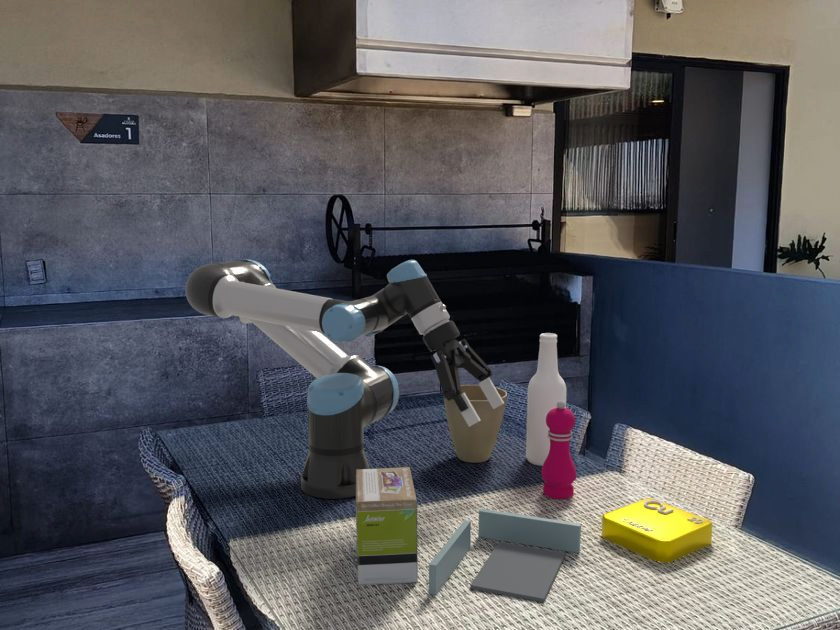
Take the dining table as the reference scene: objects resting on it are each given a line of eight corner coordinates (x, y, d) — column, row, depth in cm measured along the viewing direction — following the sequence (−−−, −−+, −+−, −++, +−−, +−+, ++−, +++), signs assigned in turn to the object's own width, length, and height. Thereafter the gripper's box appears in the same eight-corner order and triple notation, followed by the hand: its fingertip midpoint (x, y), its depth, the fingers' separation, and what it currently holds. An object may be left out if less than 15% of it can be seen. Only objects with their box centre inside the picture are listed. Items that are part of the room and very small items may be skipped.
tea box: (356, 545, 146) (355, 466, 144) (412, 543, 147) (412, 465, 145) (356, 586, 132) (355, 499, 129) (419, 584, 132) (419, 497, 130)
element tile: (596, 537, 151) (597, 512, 150) (647, 517, 160) (648, 494, 159) (665, 567, 139) (666, 541, 138) (715, 544, 148) (717, 519, 147)
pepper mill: (575, 501, 166) (578, 406, 163) (539, 498, 168) (542, 404, 165) (576, 488, 173) (579, 397, 170) (541, 486, 175) (544, 395, 172)
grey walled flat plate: (428, 593, 129) (428, 564, 128) (474, 533, 151) (474, 507, 151) (551, 617, 122) (552, 586, 121) (580, 550, 144) (581, 523, 144)
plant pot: (487, 473, 182) (488, 404, 180) (430, 461, 190) (431, 394, 188) (516, 454, 195) (518, 389, 192) (462, 443, 203) (462, 381, 200)
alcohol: (566, 456, 193) (570, 332, 188) (560, 469, 185) (564, 339, 180) (530, 452, 196) (533, 329, 191) (522, 464, 188) (525, 336, 183)
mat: (470, 588, 131) (470, 585, 131) (498, 544, 147) (498, 541, 146) (544, 602, 127) (544, 598, 127) (565, 555, 142) (565, 552, 142)
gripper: (423, 329, 161) (478, 423, 159) (472, 310, 183) (521, 392, 181) (396, 347, 165) (449, 439, 162) (447, 326, 187) (494, 406, 184)
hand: (487, 414), depth 172 cm, fingers open, 13 cm apart
